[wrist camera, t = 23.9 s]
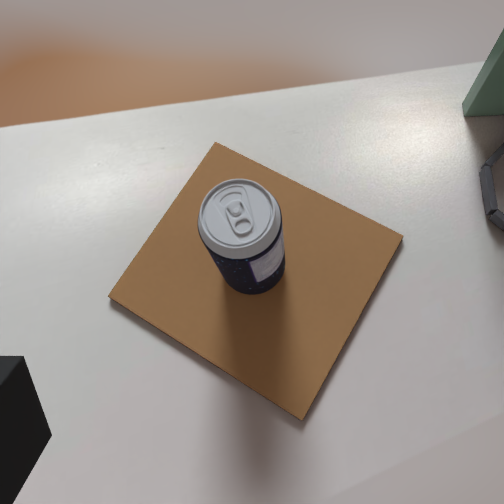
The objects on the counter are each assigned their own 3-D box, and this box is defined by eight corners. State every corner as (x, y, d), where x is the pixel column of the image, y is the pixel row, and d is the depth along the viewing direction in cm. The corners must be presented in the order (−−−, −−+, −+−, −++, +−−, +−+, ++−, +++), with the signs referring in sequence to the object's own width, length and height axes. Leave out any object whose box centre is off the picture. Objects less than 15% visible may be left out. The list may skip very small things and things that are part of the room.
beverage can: (270, 226, 42) (260, 160, 30) (296, 281, 40) (295, 233, 28) (212, 250, 41) (181, 193, 30) (236, 307, 40) (211, 269, 28)
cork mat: (402, 237, 41) (404, 235, 40) (302, 420, 37) (302, 421, 36) (216, 144, 46) (215, 141, 45) (109, 297, 42) (107, 296, 41)
